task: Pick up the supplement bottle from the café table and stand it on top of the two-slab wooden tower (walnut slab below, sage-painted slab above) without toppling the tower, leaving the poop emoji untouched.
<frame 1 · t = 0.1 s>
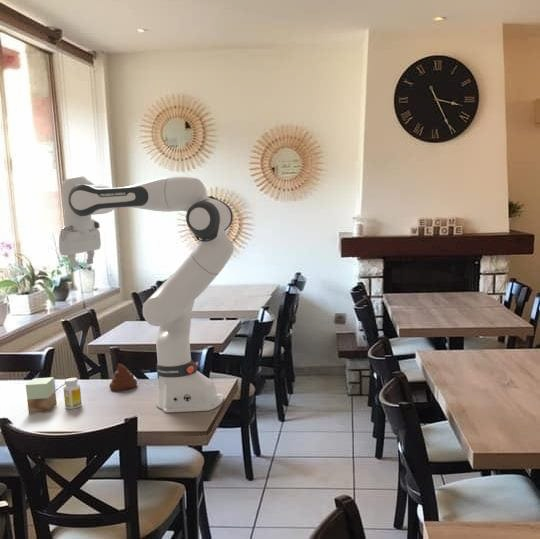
hand: (82, 265, 197), 48 cm above the table, tool pointing down, fingers open, 8 cm apart
tower top: (41, 395, 197), point 5 cm above the table, touching tower base
tower base: (43, 409, 198), on the table, touching tower top
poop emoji: (123, 388, 216), on the table
supplement bottle: (73, 407, 198), on the table
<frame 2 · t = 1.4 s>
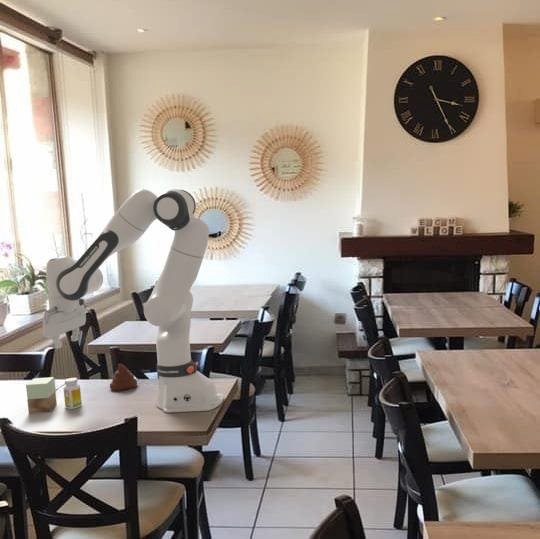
hand: (66, 344, 196), 22 cm above the table, tool pointing down, fingers open, 8 cm apart
nothing on the table moved.
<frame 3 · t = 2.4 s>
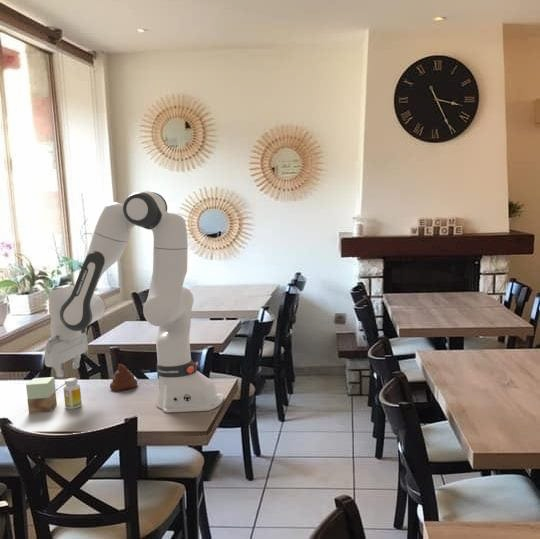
hand: (68, 372, 197), 12 cm above the table, tool pointing down, fingers open, 8 cm apart
nothing on the table moved.
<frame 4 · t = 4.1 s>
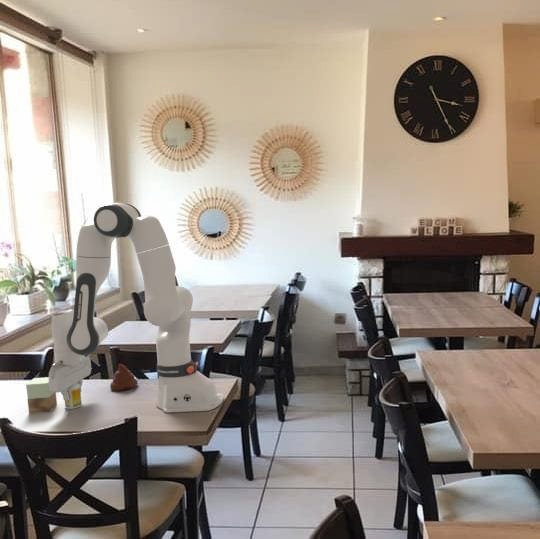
hand: (72, 396, 198), 4 cm above the table, tool pointing down, fingers closed on supplement bottle, 5 cm apart
supplement bottle: (73, 406, 198), on the table, touching gripper
everything else where it was.
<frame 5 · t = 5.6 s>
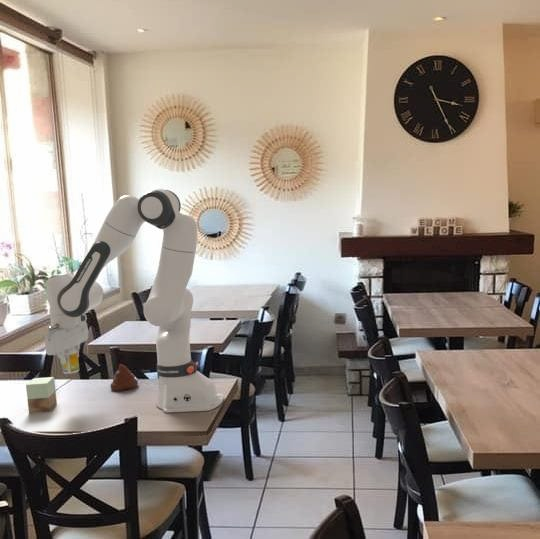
hand: (70, 360, 196), 16 cm above the table, tool pointing down, fingers closed on supplement bottle, 5 cm apart
supplement bottle: (71, 372, 197), point 12 cm above the table, touching gripper
everything else where it was.
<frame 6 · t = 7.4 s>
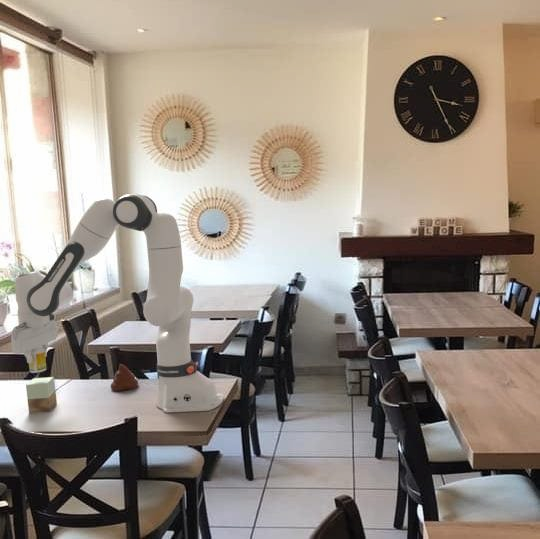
hand: (37, 359, 196), 17 cm above the table, tool pointing down, fingers closed on supplement bottle, 5 cm apart
supplement bottle: (38, 371, 196), point 13 cm above the table, touching gripper
everything else where it was.
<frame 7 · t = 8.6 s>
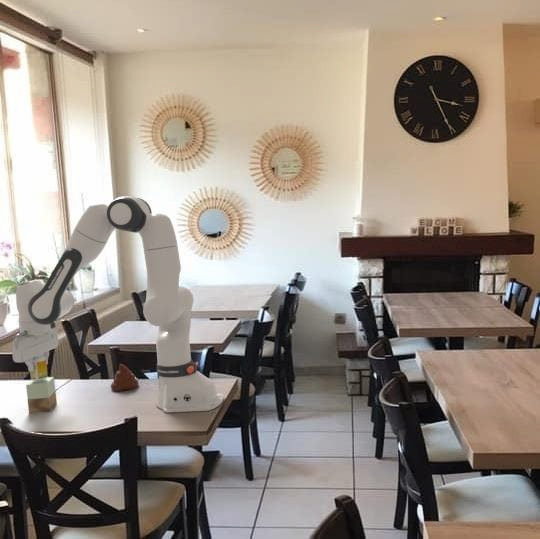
hand: (38, 367, 196), 14 cm above the table, tool pointing down, fingers closed on supplement bottle, 5 cm apart
supplement bottle: (39, 379, 197), point 10 cm above the table, touching gripper
everything else where it was.
when the fingers open (14 cm above the table, at t = 8.8 s): supplement bottle stays where it is, resting on tower top.
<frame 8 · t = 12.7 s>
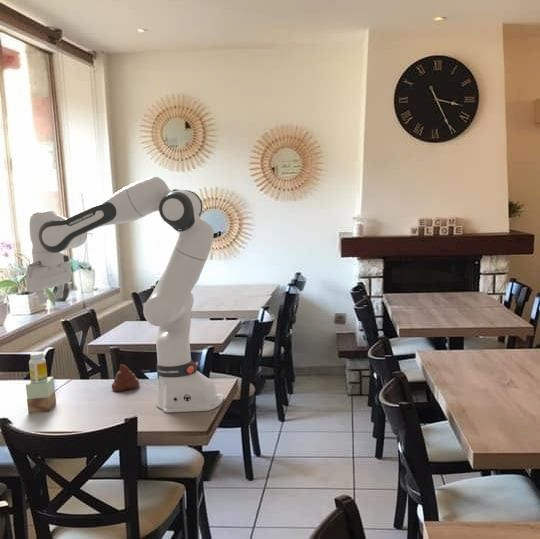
hand: (51, 300, 195), 37 cm above the table, tool pointing down, fingers open, 8 cm apart
tower top: (41, 394, 198), point 5 cm above the table, touching supplement bottle, tower base
supplement bottle: (39, 381, 197), point 10 cm above the table, touching tower top
at the end: supplement bottle 0.1 cm off-centre on the tower base, point 9.8 cm above the tower base's base; tower top 0.1 cm off-centre on the tower base, point 5.0 cm above the tower base's base; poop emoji moved 1.3 cm from its start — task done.
